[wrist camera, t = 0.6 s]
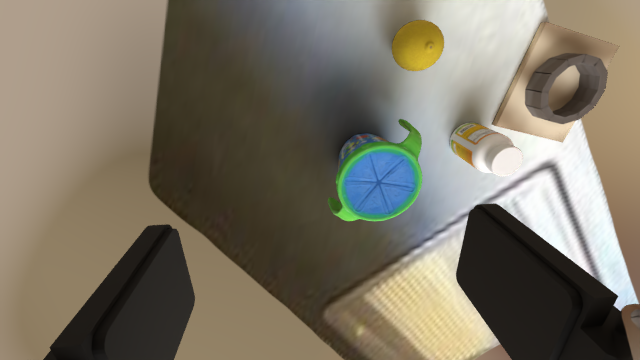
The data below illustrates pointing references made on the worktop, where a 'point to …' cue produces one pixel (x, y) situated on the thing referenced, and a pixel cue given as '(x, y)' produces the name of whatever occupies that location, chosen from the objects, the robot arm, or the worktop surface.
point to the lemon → (417, 45)
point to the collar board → (556, 82)
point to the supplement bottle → (486, 149)
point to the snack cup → (377, 176)
